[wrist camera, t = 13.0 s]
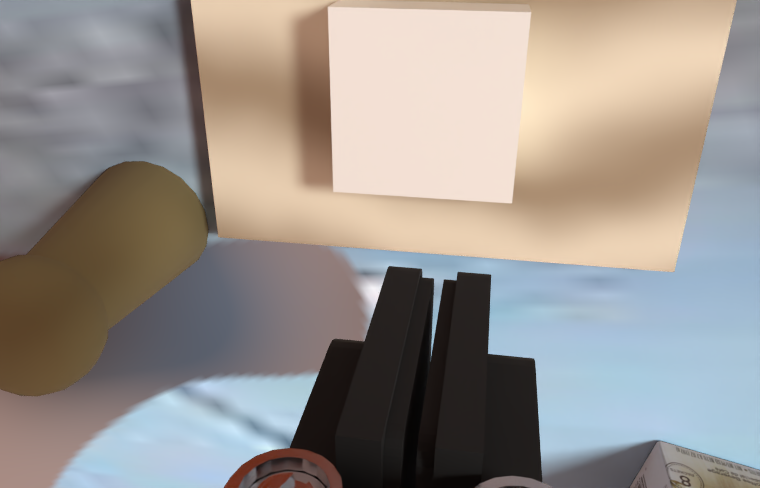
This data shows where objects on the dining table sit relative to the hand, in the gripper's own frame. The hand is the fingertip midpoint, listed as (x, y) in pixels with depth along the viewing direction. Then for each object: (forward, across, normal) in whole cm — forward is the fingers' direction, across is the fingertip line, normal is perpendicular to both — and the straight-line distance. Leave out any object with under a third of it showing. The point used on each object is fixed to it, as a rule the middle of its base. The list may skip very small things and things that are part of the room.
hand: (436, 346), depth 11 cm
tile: (+16, -2, 0) cm, 16 cm away
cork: (+18, +15, +7) cm, 25 cm away
